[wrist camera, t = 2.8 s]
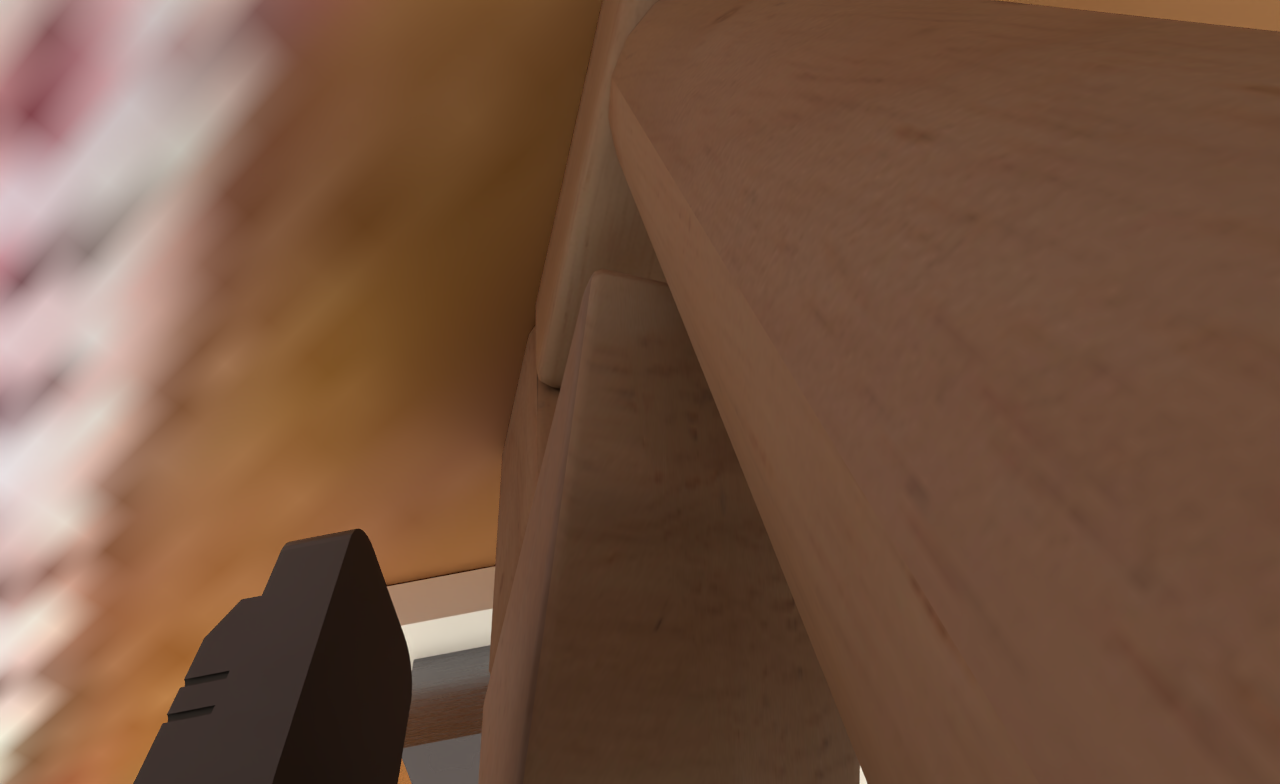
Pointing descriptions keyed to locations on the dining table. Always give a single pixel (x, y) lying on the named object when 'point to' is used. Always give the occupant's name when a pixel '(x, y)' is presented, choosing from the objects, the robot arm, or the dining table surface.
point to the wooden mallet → (900, 406)
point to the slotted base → (449, 611)
